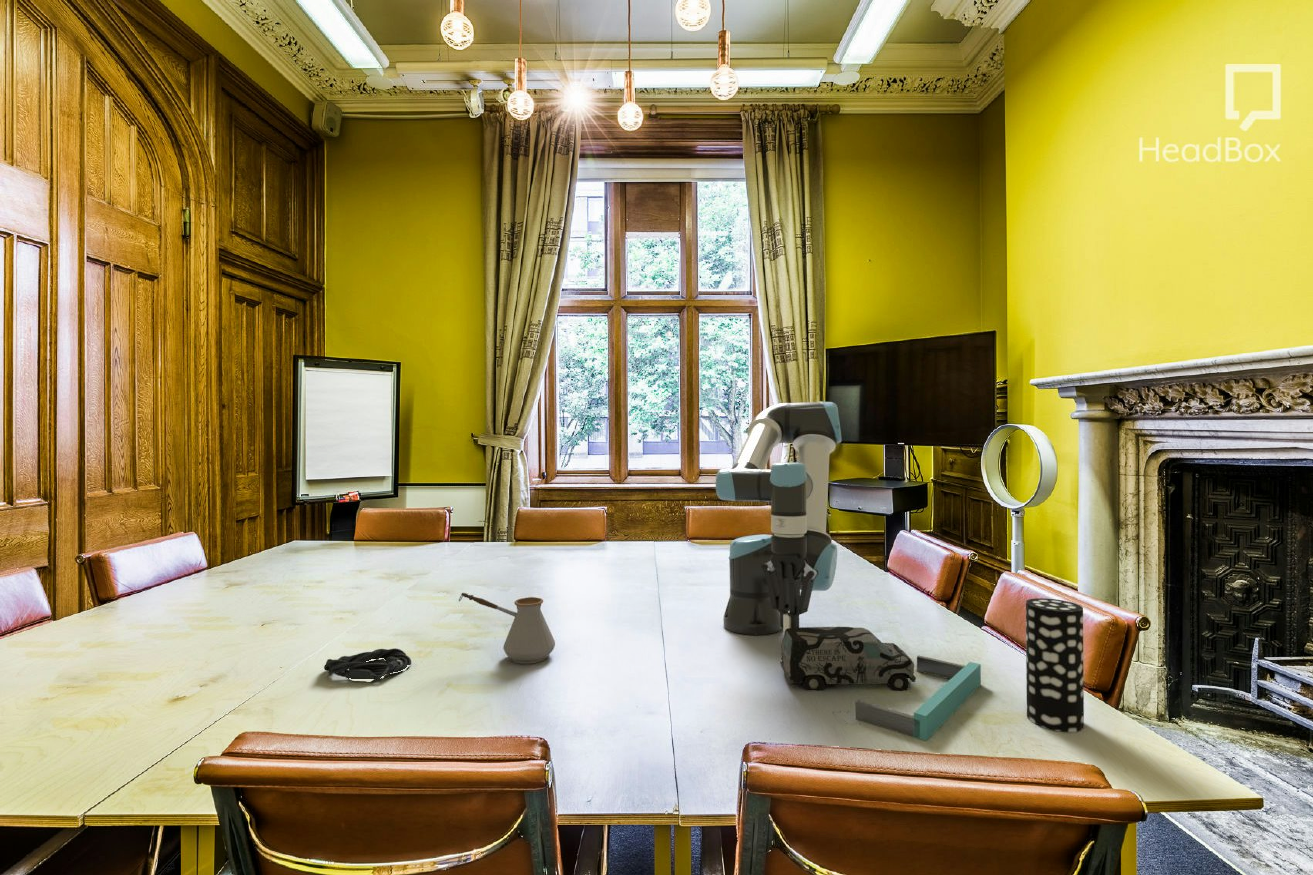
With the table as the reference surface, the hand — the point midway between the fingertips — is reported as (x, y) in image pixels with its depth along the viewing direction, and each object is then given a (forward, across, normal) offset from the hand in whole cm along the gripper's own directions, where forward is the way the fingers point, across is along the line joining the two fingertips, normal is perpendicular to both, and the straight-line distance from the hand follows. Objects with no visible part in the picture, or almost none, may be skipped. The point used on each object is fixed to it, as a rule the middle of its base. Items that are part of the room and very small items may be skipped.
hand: (789, 644), depth 135 cm
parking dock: (+5, +29, +1) cm, 29 cm away
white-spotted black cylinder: (+5, +48, +7) cm, 48 cm away
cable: (+5, -67, -62) cm, 91 cm away
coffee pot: (+5, -50, -38) cm, 63 cm away
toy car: (+5, +13, 0) cm, 14 cm away
